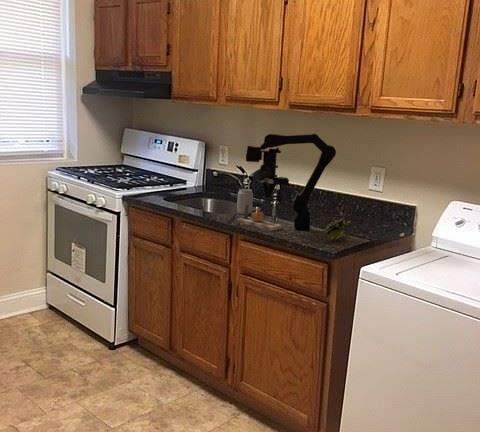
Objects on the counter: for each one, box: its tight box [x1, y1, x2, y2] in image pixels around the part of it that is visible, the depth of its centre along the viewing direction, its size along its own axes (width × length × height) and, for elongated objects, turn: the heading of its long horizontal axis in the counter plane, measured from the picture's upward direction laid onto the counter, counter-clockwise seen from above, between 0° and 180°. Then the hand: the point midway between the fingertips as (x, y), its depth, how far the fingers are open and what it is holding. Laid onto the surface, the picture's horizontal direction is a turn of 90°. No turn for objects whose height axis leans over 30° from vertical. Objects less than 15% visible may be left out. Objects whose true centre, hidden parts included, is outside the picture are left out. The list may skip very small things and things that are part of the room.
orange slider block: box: [250, 206, 264, 222], centre depth 244 cm, size 4×4×6 cm
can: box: [236, 188, 254, 215], centre depth 268 cm, size 8×8×12 cm
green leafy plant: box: [324, 216, 352, 242], centre depth 223 cm, size 11×11×12 cm
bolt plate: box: [236, 204, 283, 232], centre depth 243 cm, size 21×7×8 cm, turn 46°
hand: (267, 198), depth 239 cm, fingers closed
